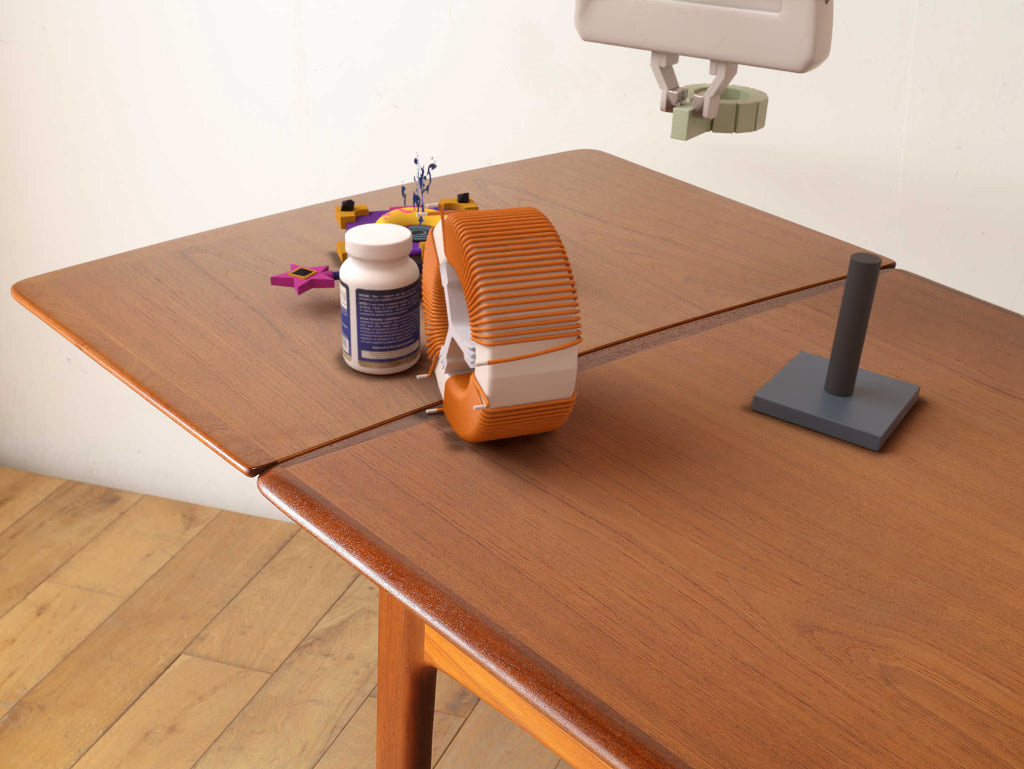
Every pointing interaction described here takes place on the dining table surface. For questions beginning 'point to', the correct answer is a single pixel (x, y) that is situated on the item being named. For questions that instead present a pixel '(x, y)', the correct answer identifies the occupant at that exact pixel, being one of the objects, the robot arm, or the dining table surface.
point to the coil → (500, 321)
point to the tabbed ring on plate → (721, 112)
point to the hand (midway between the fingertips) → (688, 114)
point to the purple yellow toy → (361, 215)
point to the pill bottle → (380, 299)
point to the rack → (842, 376)
